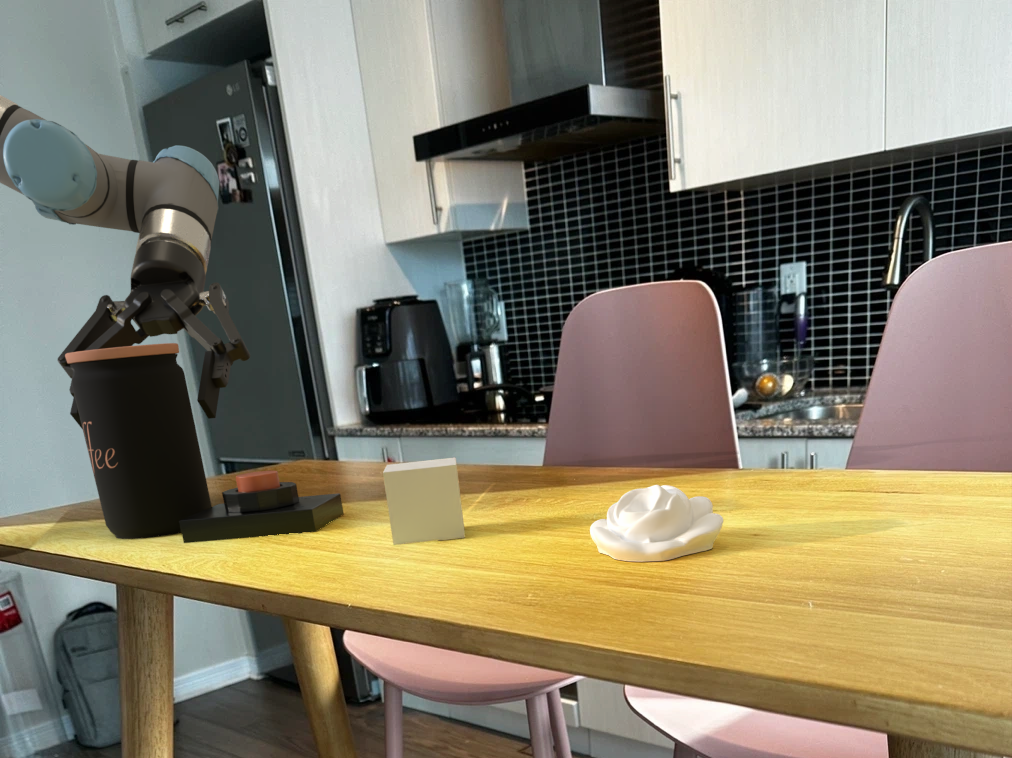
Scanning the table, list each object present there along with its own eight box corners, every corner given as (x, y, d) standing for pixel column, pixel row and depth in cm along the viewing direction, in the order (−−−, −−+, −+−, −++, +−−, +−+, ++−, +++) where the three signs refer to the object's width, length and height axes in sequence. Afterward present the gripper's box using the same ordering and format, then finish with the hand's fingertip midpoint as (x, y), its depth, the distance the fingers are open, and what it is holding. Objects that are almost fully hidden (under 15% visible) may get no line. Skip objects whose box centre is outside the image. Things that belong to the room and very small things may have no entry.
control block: (183, 543, 98) (174, 501, 96) (222, 525, 107) (215, 486, 105) (315, 532, 96) (308, 489, 95) (344, 514, 105) (337, 475, 104)
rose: (742, 472, 74) (696, 495, 66) (744, 533, 76) (699, 563, 68) (615, 476, 79) (558, 498, 71) (619, 534, 80) (564, 562, 72)
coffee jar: (113, 530, 111) (70, 354, 105) (214, 516, 114) (179, 344, 107) (104, 545, 101) (57, 352, 95) (215, 530, 104) (176, 341, 98)
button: (232, 496, 99) (229, 478, 98) (247, 490, 102) (244, 472, 102) (272, 493, 98) (269, 474, 97) (286, 487, 102) (282, 469, 101)
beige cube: (464, 526, 91) (456, 457, 89) (465, 538, 86) (456, 464, 84) (396, 533, 91) (386, 464, 89) (393, 545, 85) (382, 472, 83)
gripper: (291, 279, 116) (273, 428, 107) (83, 303, 119) (49, 450, 110) (266, 223, 109) (245, 377, 100) (46, 250, 112) (7, 402, 103)
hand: (142, 416), depth 105 cm, fingers open, 13 cm apart
